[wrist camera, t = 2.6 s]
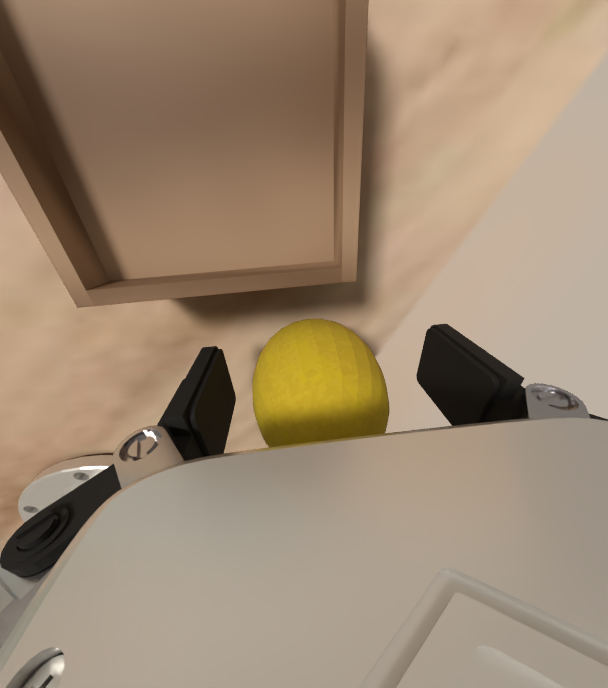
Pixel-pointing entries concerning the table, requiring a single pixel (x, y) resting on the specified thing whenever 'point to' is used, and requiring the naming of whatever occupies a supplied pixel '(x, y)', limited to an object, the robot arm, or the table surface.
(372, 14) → the table surface
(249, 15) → the walnut tray
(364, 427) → the lemon
